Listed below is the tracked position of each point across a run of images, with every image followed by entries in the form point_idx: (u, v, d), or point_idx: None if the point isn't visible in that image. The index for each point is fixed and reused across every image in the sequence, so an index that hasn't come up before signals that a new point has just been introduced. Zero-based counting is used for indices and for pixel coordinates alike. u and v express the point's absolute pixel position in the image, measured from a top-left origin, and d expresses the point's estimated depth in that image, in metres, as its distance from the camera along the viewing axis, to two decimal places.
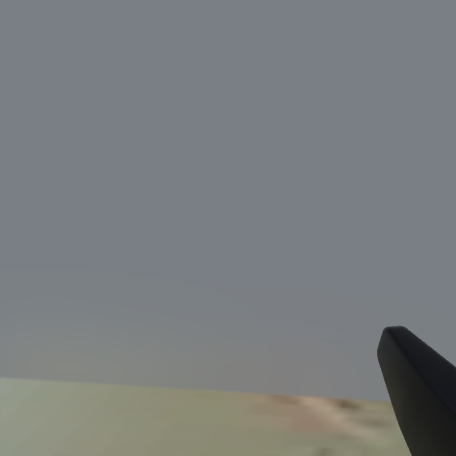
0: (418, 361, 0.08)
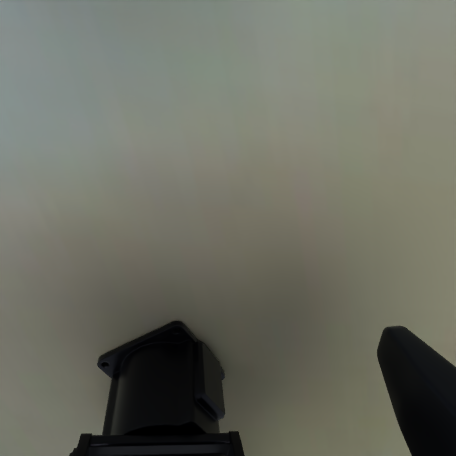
0: (418, 361, 0.08)
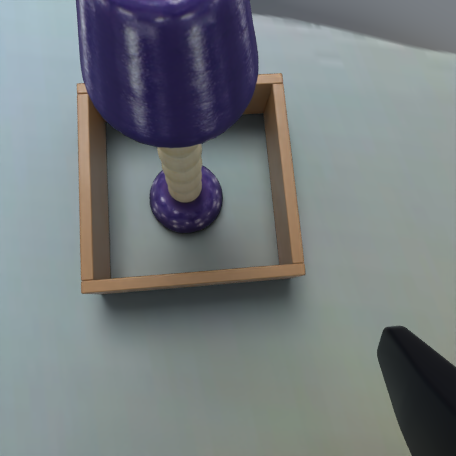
0: (418, 361, 0.08)
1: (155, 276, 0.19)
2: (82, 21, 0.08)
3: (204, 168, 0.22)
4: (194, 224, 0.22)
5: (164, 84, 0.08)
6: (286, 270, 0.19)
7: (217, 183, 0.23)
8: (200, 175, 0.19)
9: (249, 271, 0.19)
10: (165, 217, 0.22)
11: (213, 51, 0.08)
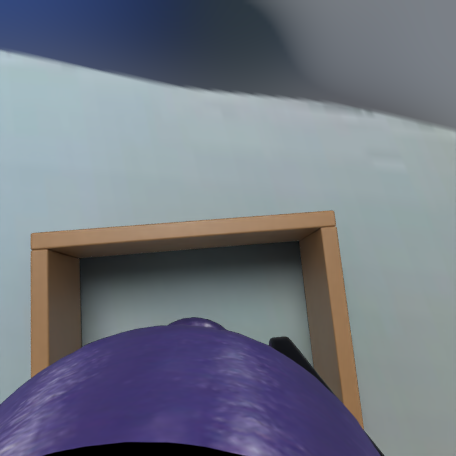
0: None
1: None
2: None
3: None
4: None
5: None
6: None
7: None
8: None
9: None
10: None
11: None
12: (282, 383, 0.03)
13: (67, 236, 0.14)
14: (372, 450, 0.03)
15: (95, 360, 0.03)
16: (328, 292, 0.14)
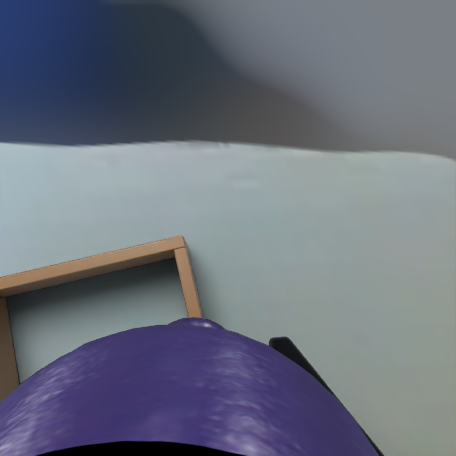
0: None
1: None
2: None
3: None
4: None
5: None
6: None
7: None
8: None
9: None
10: None
11: None
12: (280, 382, 0.03)
13: None
14: (370, 449, 0.03)
15: (93, 359, 0.03)
16: (184, 297, 0.19)
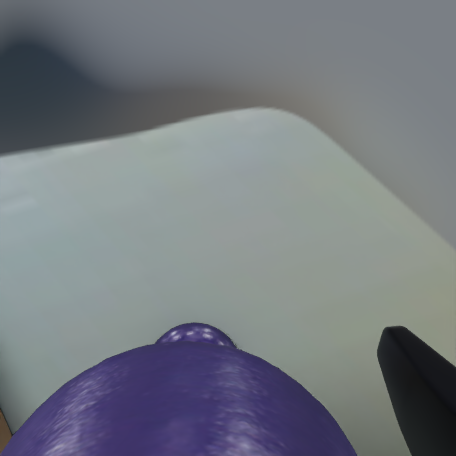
0: (418, 361, 0.08)
1: None
2: None
3: (218, 340, 0.16)
4: None
5: None
6: None
7: None
8: None
9: None
10: None
11: None
12: (270, 392, 0.04)
13: None
14: (345, 446, 0.04)
15: (116, 374, 0.04)
16: None
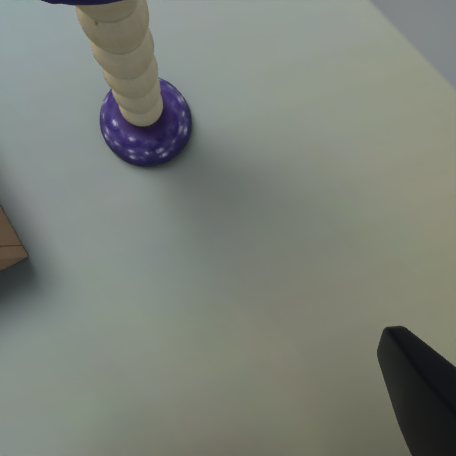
0: (418, 361, 0.08)
1: None
2: None
3: (167, 83, 0.18)
4: (155, 155, 0.18)
5: None
6: None
7: (184, 103, 0.18)
8: (158, 88, 0.14)
9: None
10: (119, 146, 0.18)
11: None
12: None
13: None
14: None
15: None
16: None
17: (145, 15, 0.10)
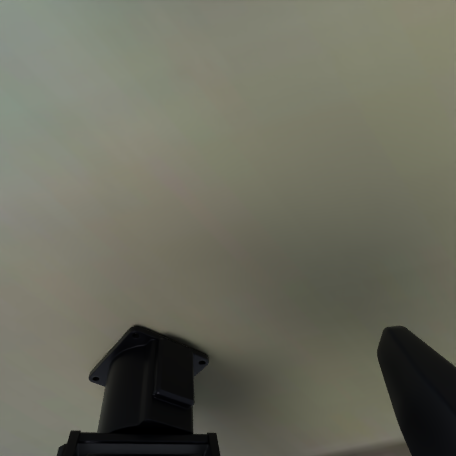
0: (418, 361, 0.08)
1: None
2: None
3: None
4: None
5: None
6: None
7: None
8: None
9: None
10: None
11: None
12: None
13: None
14: None
15: None
16: None
17: None
